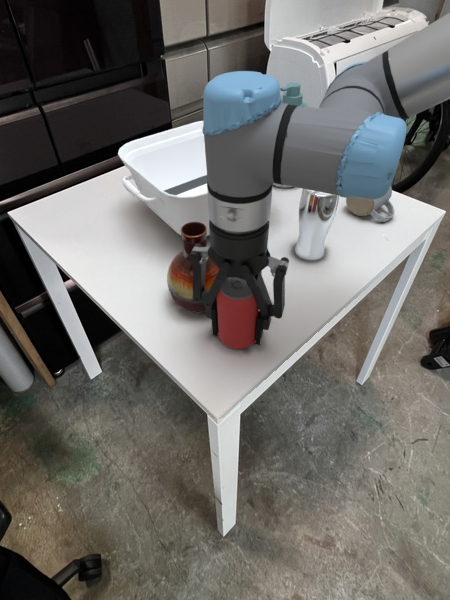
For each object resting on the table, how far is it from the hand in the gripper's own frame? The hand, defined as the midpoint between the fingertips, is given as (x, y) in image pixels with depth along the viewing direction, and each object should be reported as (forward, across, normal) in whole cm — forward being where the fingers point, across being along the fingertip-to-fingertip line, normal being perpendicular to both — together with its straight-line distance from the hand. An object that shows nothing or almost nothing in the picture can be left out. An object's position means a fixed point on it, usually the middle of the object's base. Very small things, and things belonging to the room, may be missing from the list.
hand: (237, 333), depth 63 cm
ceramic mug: (+1, +21, +44) cm, 49 cm away
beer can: (+1, 0, 0) cm, 1 cm away
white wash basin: (+1, -17, +34) cm, 38 cm away
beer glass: (+1, +9, +26) cm, 27 cm away
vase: (+1, -9, +7) cm, 11 cm away
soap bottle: (+1, -1, +54) cm, 54 cm away
